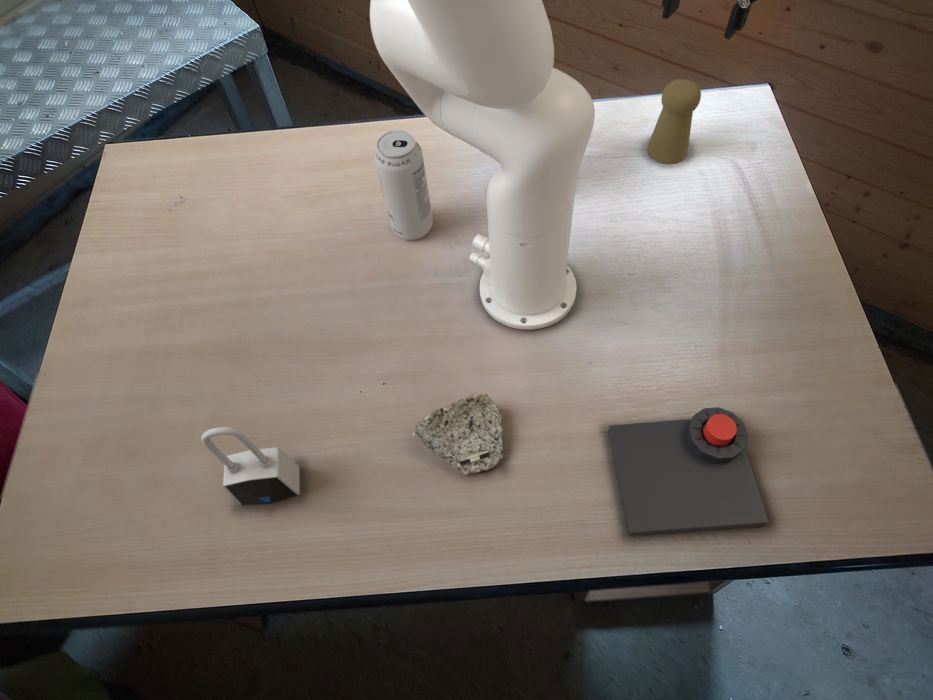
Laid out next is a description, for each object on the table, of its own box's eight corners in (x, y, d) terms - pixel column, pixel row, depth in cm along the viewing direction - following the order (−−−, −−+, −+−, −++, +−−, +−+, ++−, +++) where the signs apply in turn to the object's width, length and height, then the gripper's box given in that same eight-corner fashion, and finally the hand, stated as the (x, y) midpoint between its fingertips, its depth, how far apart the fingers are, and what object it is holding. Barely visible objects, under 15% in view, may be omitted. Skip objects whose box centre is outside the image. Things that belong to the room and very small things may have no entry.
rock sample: (461, 495, 63) (444, 414, 62) (420, 483, 70) (403, 409, 68) (532, 460, 70) (518, 385, 68) (489, 452, 76) (474, 383, 74)
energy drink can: (396, 211, 91) (377, 126, 78) (436, 213, 90) (424, 127, 77) (388, 242, 88) (366, 158, 75) (429, 244, 87) (415, 160, 74)
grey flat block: (628, 536, 64) (632, 528, 62) (607, 426, 71) (610, 415, 68) (764, 526, 64) (775, 517, 61) (730, 417, 70) (738, 405, 68)
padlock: (239, 509, 68) (177, 457, 56) (241, 473, 71) (181, 415, 58) (299, 498, 69) (250, 444, 56) (299, 463, 71) (252, 403, 58)
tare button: (707, 447, 66) (711, 440, 64) (699, 422, 67) (704, 415, 66) (735, 445, 66) (740, 438, 64) (727, 419, 67) (732, 412, 66)
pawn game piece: (692, 142, 94) (711, 77, 85) (681, 168, 92) (700, 104, 82) (653, 133, 96) (668, 68, 87) (641, 158, 93) (655, 94, 84)
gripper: (846, -145, 60) (780, 29, 75) (683, -177, 67) (652, -11, 82) (815, -114, 58) (754, 61, 73) (648, -150, 64) (623, 17, 79)
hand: (700, 22), depth 77 cm, fingers open, 7 cm apart
